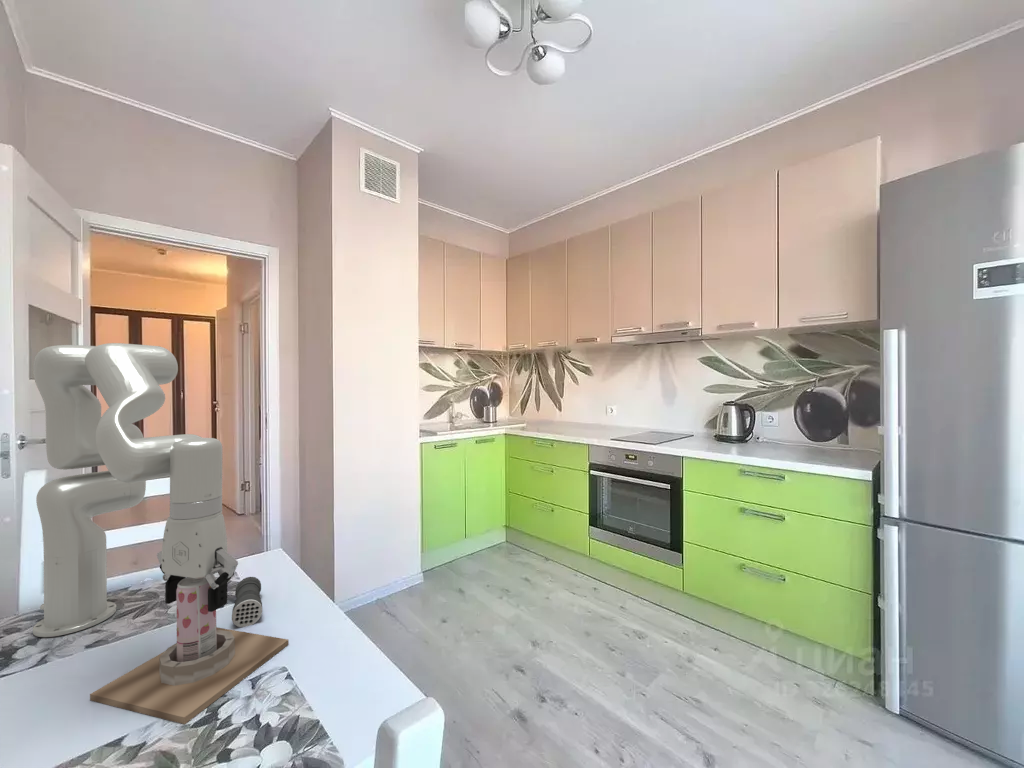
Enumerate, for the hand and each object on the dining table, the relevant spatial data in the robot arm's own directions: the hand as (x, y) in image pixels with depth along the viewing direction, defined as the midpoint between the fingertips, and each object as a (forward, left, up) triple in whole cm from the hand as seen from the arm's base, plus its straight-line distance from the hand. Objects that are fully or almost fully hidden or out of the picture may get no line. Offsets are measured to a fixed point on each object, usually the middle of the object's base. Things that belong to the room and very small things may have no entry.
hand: (196, 603), depth 75 cm
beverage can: (0, 0, -11) cm, 11 cm away
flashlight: (-8, +18, -12) cm, 24 cm away
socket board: (+1, 0, -12) cm, 12 cm away
